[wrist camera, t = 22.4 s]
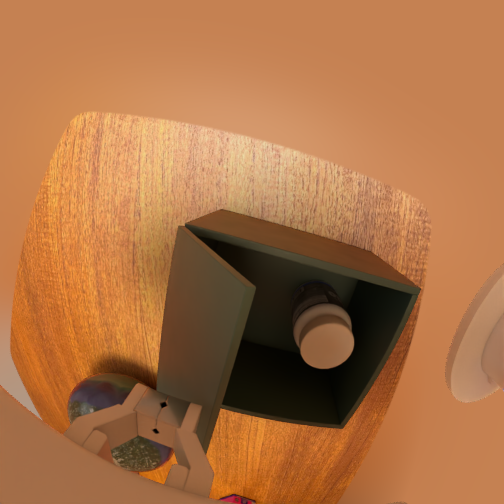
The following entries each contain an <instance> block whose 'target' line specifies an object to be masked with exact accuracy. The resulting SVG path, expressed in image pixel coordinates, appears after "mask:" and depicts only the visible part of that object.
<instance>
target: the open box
mask: <svg viewBox="0 0 504 504" xmlns="http://www.w3.org/2000/svg"><path fill="white" fill-rule="evenodd" d="M185 227H186V228H187V229H188V230H189V231H191V232H192V233H193V234H194V235H195V236H196V237H197V238H199V239H200V240H201V241H202V242H203V243H204V244H206V245H207V246H208V247H209V248H210V249H211V250H213V251H214V252H215V253H216V254H217V255H218V256H220V257H221V258H222V259H223V260H224V261H226V262H227V263H228V264H229V265H230V266H231V267H233V268H234V269H235V270H236V271H237V272H239V273H240V274H241V275H242V276H243V277H245V278H246V279H247V280H248V281H249V282H251V283H252V284H253V285H254V286H255V287H256V290H255V293H254V297H253V300H252V304H251V307H250V311H249V314H248V318H247V321H246V324H245V328H244V331H243V335H242V338H241V342H240V345H239V348H238V352H237V355H236V358H235V362H234V365H233V368H232V372H231V375H230V378H229V382H228V385H227V388H226V392H225V395H224V398H223V402H222V405H221V408H222V409H225V410H229V411H233V412H237V413H242V414H246V415H250V416H255V417H260V418H265V419H270V420H275V421H281V422H287V423H294V424H301V425H308V426H317V427H327V428H338V429H343V428H344V426H345V425H346V424H347V422H348V421H349V420H350V418H351V417H352V415H353V414H354V413H355V411H356V410H357V408H358V407H359V405H360V404H361V402H362V401H363V399H364V398H365V396H366V395H367V393H368V392H369V390H370V388H371V387H372V385H373V384H374V382H375V380H376V379H377V377H378V375H379V374H380V372H381V370H382V368H383V367H384V365H385V363H386V361H387V360H388V358H389V356H390V354H391V352H392V350H393V349H394V347H395V345H396V343H397V341H398V339H399V337H400V335H401V333H402V331H403V329H404V327H405V325H406V323H407V320H408V318H409V316H410V314H411V312H412V309H413V307H414V305H415V303H416V300H417V298H418V295H419V293H420V290H421V289H420V288H419V287H418V286H416V285H415V284H414V283H413V282H411V281H410V280H409V279H407V278H406V277H405V276H403V275H402V274H401V273H399V272H398V271H397V270H395V269H394V268H393V267H391V266H390V265H389V264H387V263H386V262H384V261H383V260H382V259H380V258H379V257H378V256H376V255H375V254H373V253H372V252H371V251H367V250H364V249H361V248H358V247H354V246H351V245H348V244H345V243H341V242H338V241H335V240H331V239H328V238H325V237H321V236H318V235H314V234H311V233H307V232H304V231H300V230H297V229H293V228H290V227H286V226H283V225H279V224H276V223H272V222H268V221H265V220H261V219H257V218H254V217H250V216H246V215H242V214H238V213H235V212H231V211H227V210H223V209H221V210H218V211H215V212H213V213H210V214H208V215H205V216H203V217H200V218H198V219H195V220H193V221H190V222H188V223H185ZM313 280H320V281H324V282H326V283H328V284H330V285H331V286H332V287H333V288H334V290H335V291H336V293H337V295H338V297H339V298H340V300H341V302H342V304H343V305H344V308H345V309H346V311H347V313H348V315H349V317H350V320H351V324H352V334H353V337H354V348H353V351H352V353H351V355H350V356H349V357H348V358H347V360H346V361H344V362H343V363H341V364H340V365H338V366H336V367H333V368H328V369H319V368H315V367H312V366H310V365H309V364H307V363H306V362H305V361H304V359H303V358H302V356H301V353H300V348H299V347H298V346H297V344H296V342H295V339H294V335H293V324H292V314H291V299H292V296H293V294H294V292H295V290H296V289H297V288H298V287H299V286H300V285H302V284H304V283H306V282H309V281H313Z"/></svg>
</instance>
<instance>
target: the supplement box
mask: <svg viewBox="0 0 504 504" xmlns="http://www.w3.org/2000/svg"><path fill="white" fill-rule="evenodd" d="M219 500H221V501H226V502H231V503H237V504H255V501H253V500H249V499H246V498H243V497H240V496H238V495H235V494H234V495H231V496H227V497H224V498H221V499H219Z"/></svg>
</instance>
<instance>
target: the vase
mask: <svg viewBox="0 0 504 504" xmlns="http://www.w3.org/2000/svg"><path fill="white" fill-rule="evenodd" d="M138 383H140V384H142V385H145V386H147V387H149V386H148V385H146V384H145V383H143V382H141V381H140V380H138V379H136V378H133V377H131V376H128V375H125V374H120V373H115V372H104V373H98V374H94V375H91V376H89V377H87V378H85V379H84V380H82V381H81V382H80V383H78V384H77V385H76V387H75V388H74V389H73V391H72V392H71V394H70V397H69V401H68V417H69V421H70V424H72V423H73V422H74V420H75V419H76V418H77V417H80V416H83V415H86V414H90V413H93V412H96V411H99V410H102V409H105V408H109V407H112V406H114V405H117V404H120V405H122V404H123V403H124V401H125V400H126V398H127V397H128V395H129V394H130V392H131V391H132V390H133V388H134V387H135V385H136V384H138ZM150 388H151V387H150ZM173 453H174V449H173V448H170V447H168V446H165V445H163V444H160V443H158V442H155V441H152V440H150V439H147V438H144V437H142V436H139V435H137V436H136V437H135V438H133V439H131V440H129V441H127V442H125V443H123V444H121V445H119V446H117V447H115V448H113V449H111V454H112V458H113V462H114V463H113V464H115V465H117V466H120V467H122V468H124V469H126V470H128V471H131V472H147V471H152V470H155V469H158V468H160V467H161V466H163V465H164V464H165V463H167V462H168V461H169V459H170V458H171V457H172V455H173Z"/></svg>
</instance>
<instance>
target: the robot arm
mask: <svg viewBox="0 0 504 504" xmlns="http://www.w3.org/2000/svg"><path fill="white" fill-rule="evenodd" d="M481 366H482V370H483V372H484V373H486V374H487V375H488V382H489V383H490V384H494V383H496V384H497V385H498V386H499V387H500V388H502V389H503V390H504V313H503V315H502V316H501V317H500V319H499V320H498V322H497V323H496V325H495V327H494V329H493V330H492V332H491V334H490V336H489V338H488V340H487V343H486V345H485V348H484V351H483V355H482V361H481ZM201 410H202V406H201V405H198V404H194V403H191V402H189V401H185V400H182V399H179V398H176V397H173V396H170V395H167V394H164V393H162V392H159V391H157V390H154V389H152V388H150V387H147V386H145V385H142V384H140V383H138V384H136V385H135V387H134V388H133V390H132V391H131V392H130V394H129V395H128V397H127V398H126V400H125V401H124V403H123V404H122V405H120V404H117V405H114V406H112V407H109V408H105V409H102V410H99V411H96V412H93V413H90V414H86V415H83V416H80V417H77V418H76V419H75V420H74V422H73V423H72V424H71V425H70V427H69V428H68V429H67V430H66V432H65V433H64V434H63V435H62V434H61V433H59V432H58V431H56V430H55V429H53V428H52V427H51V426H49V425H48V424H46V423H45V422H44V421H42V420H41V419H40V418H38V417H37V416H36V415H34V414H33V413H32V412H31V411H29V410H28V409H27V408H26V407H24V406H23V405H22V404H21V403H20V402H18V401H17V400H16V399H15V398H14V397H12V395H10V394H9V393H8V392H7V391H6V390H5V389H4V388H3V387H2V386H1V385H0V504H237V503H231V502H226V501H221V500H216V499H212V498H209V494H210V490H211V486H212V482H213V478H214V472H213V470H212V468H211V466H210V464H209V462H208V459H207V457H206V455H205V453H204V450H203V448H202V446H201V444H200V441H199V439H198V436H197V434H196V430H197V426H198V423H199V419H200V414H201ZM137 435H139V436H142V437H144V438H147V439H150V440H152V441H155V442H158V443H160V444H163V445H165V446H168V447H170V448H173V449H174V453H175V456H176V459H177V463H178V464H174V465H172V467H171V469H170V471H169V474H168V476H167V479H166V481H165V484H161V483H158V482H155V481H153V480H150V479H147V478H145V477H142V476H140V475H138V474H135V473H133V472H131V471H128V470H126V469H124V468H122V467H120V466H117V465H115V464H113V463H114V462H113V458H112V454H111V449H113V448H115V447H117V446H119V445H121V444H123V443H125V442H127V441H129V440H131V439H133V438H135V437H136V436H137ZM391 504H407V503H405V502H396V503H391Z"/></svg>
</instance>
